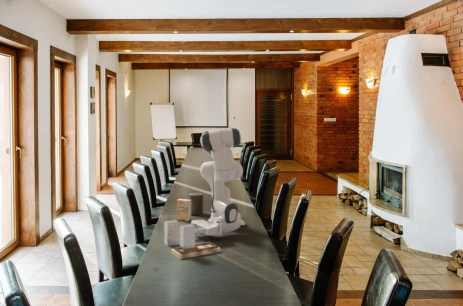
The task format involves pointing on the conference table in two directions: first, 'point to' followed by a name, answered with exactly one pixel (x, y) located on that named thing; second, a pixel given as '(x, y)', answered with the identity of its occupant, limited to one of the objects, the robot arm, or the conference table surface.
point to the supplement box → (183, 209)
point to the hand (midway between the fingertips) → (191, 229)
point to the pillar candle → (196, 203)
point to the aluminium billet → (171, 232)
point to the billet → (187, 237)
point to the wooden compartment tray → (196, 250)
